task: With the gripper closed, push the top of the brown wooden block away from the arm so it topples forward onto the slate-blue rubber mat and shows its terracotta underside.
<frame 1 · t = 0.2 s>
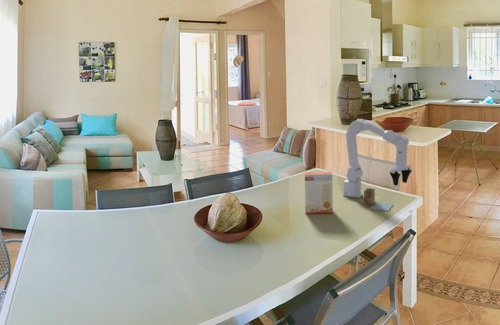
hand: (400, 183, 235), 10 cm above the table, tool pointing down, fingers open, 7 cm apart
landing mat: (382, 206, 230), on the table
cracker box: (318, 212, 226), on the table
brown wooden block: (369, 205, 233), on the table
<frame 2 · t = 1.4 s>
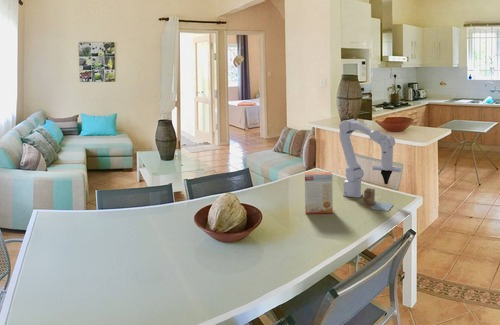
hand: (386, 183, 235), 10 cm above the table, tool pointing down, fingers closed
nothing on the table moved.
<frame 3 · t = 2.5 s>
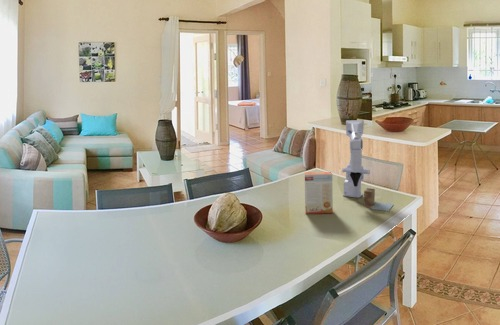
hand: (355, 186, 235), 10 cm above the table, tool pointing down, fingers closed
nothing on the table moved.
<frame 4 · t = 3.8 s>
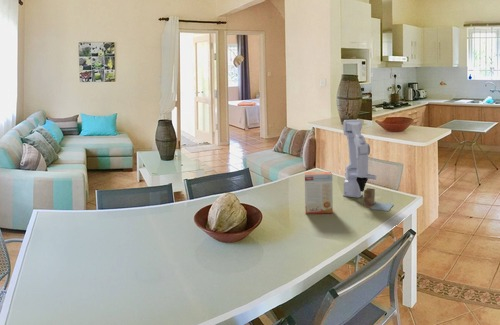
hand: (362, 191, 234), 7 cm above the table, tool pointing down, fingers closed
nothing on the table moved.
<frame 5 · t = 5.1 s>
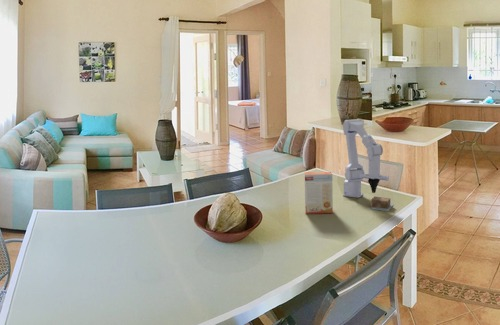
hand: (373, 192, 230), 7 cm above the table, tool pointing down, fingers closed
brown wooden block: (372, 201, 232), point 2 cm above the table, tilted 90°, touching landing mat
everything else where it was.
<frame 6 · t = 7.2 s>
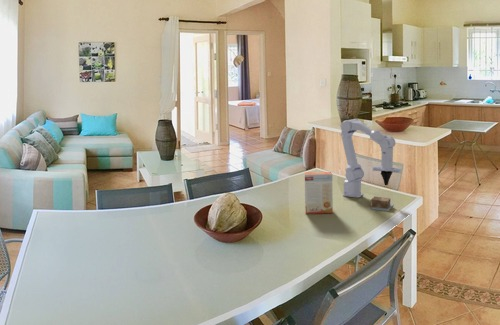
hand: (386, 184, 233), 10 cm above the table, tool pointing down, fingers closed
nothing on the table moved.
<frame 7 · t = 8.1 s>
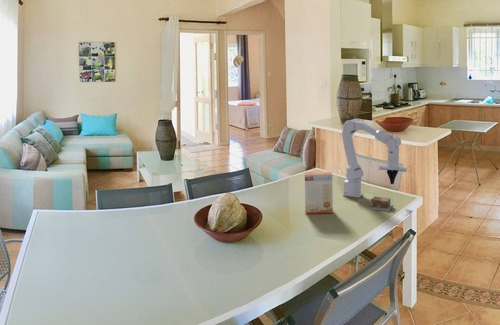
hand: (392, 183, 234), 10 cm above the table, tool pointing down, fingers closed
nothing on the table moved.
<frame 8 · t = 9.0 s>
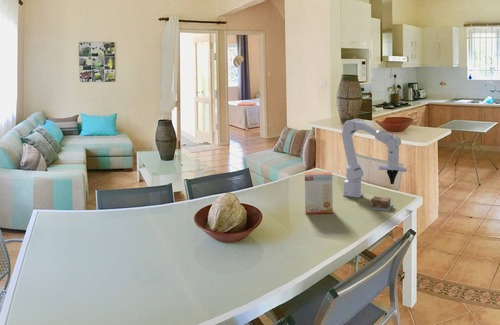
hand: (392, 183, 234), 10 cm above the table, tool pointing down, fingers closed
nothing on the table moved.
at the end: brown wooden block tilted 90°; brown wooden block touching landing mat; brown wooden block inside the target area (1.6 cm from its centre), point 2.3 cm above the table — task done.
